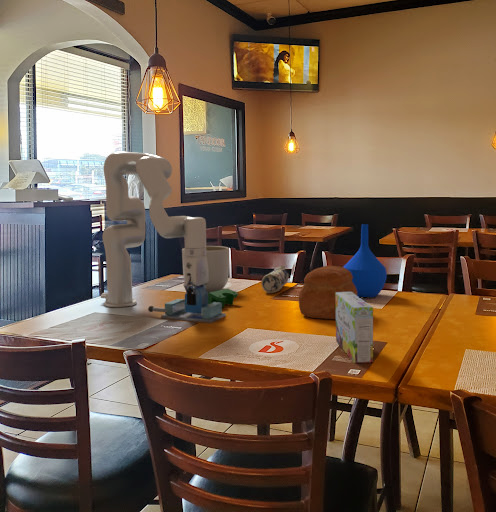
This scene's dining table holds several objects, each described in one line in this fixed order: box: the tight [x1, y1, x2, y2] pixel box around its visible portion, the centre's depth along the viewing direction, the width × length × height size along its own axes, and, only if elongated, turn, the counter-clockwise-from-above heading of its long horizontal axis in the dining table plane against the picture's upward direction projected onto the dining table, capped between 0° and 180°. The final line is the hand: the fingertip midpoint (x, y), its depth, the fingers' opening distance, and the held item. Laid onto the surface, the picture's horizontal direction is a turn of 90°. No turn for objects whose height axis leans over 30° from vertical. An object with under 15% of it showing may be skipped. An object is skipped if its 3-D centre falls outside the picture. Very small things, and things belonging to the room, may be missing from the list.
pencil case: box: [261, 265, 290, 294], centre depth 250 cm, size 22×8×10 cm, turn 166°
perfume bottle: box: [184, 284, 209, 314], centre depth 198 cm, size 6×6×12 cm
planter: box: [181, 245, 230, 294], centre depth 250 cm, size 21×21×19 cm
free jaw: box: [147, 298, 185, 315], centre depth 203 cm, size 10×10×4 cm
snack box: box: [335, 292, 374, 364], centre depth 155 cm, size 21×6×15 cm, turn 5°
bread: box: [298, 265, 357, 320], centre depth 202 cm, size 18×22×17 cm
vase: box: [343, 223, 388, 298], centre depth 233 cm, size 18×18×30 cm
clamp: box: [208, 288, 239, 309], centre depth 218 cm, size 12×6×9 cm, turn 134°
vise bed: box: [160, 302, 226, 324], centre depth 199 cm, size 20×11×5 cm, turn 67°
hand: (196, 302), depth 198 cm, fingers closed on perfume bottle, 6 cm apart
